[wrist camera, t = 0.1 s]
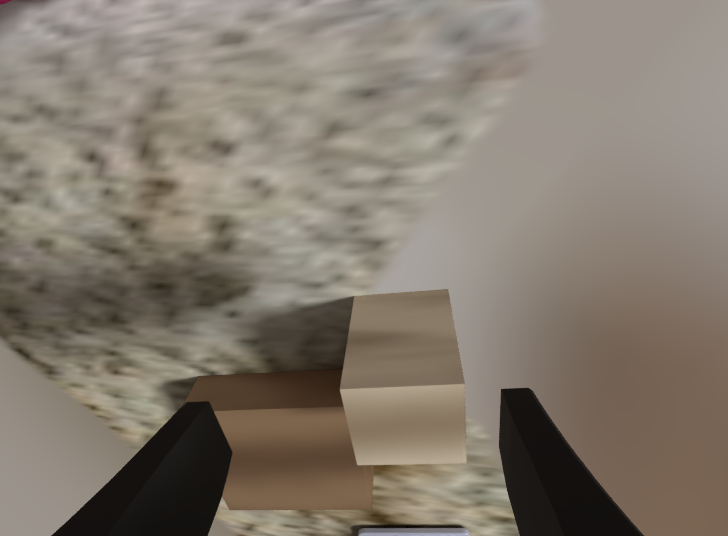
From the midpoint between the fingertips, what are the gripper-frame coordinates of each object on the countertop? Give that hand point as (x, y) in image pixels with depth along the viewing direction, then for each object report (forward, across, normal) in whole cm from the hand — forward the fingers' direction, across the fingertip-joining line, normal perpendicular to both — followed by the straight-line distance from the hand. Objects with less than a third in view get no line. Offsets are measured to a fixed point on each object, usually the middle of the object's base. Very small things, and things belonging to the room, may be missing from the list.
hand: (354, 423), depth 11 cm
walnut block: (+10, +7, +12) cm, 17 cm away
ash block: (+10, -1, +5) cm, 11 cm away
